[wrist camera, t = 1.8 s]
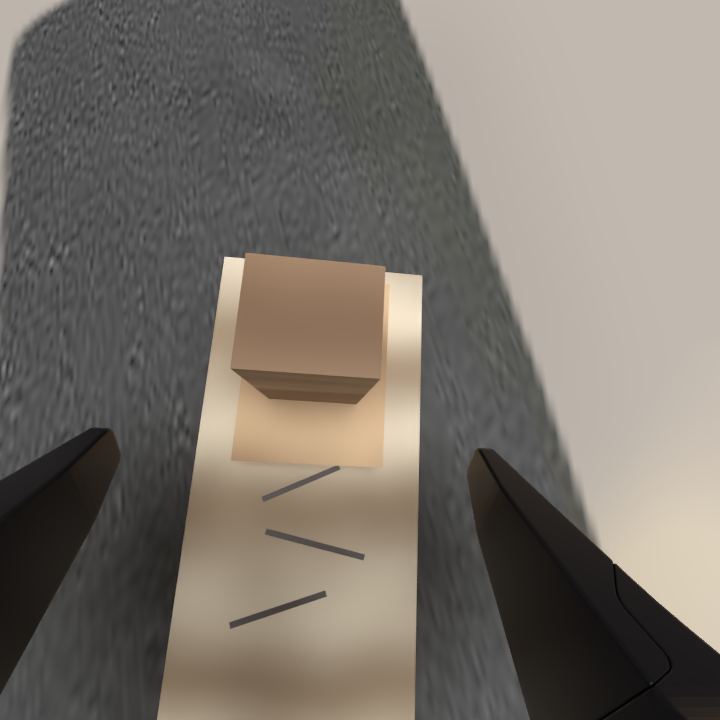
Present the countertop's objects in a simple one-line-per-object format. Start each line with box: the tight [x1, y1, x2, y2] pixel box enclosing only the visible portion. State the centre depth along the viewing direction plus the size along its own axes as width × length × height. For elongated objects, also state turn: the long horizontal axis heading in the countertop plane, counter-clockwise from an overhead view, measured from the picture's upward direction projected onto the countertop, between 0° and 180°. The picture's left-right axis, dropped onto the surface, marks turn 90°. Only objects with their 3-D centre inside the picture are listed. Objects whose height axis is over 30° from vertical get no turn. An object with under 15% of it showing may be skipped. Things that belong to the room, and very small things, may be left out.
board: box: [157, 257, 422, 720], centre depth 17 cm, size 24×10×3 cm, turn 177°
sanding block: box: [230, 253, 390, 468], centre depth 13 cm, size 8×6×8 cm
